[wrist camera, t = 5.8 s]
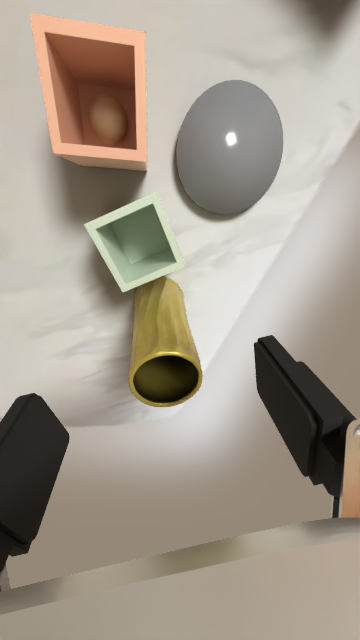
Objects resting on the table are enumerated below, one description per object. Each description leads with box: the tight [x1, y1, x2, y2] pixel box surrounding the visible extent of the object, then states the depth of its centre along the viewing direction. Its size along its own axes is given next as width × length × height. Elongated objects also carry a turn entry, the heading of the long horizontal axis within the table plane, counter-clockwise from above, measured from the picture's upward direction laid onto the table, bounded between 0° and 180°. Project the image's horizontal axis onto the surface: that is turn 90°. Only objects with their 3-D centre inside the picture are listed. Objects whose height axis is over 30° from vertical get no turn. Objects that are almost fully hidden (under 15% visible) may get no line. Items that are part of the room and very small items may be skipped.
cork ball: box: [88, 94, 128, 144], centre depth 18 cm, size 3×3×3 cm
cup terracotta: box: [30, 13, 147, 171], centre depth 17 cm, size 6×6×7 cm
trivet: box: [176, 80, 283, 214], centre depth 21 cm, size 10×10×1 cm
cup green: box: [84, 191, 186, 292], centre depth 21 cm, size 6×6×7 cm
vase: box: [128, 277, 202, 407], centre depth 22 cm, size 6×6×14 cm
